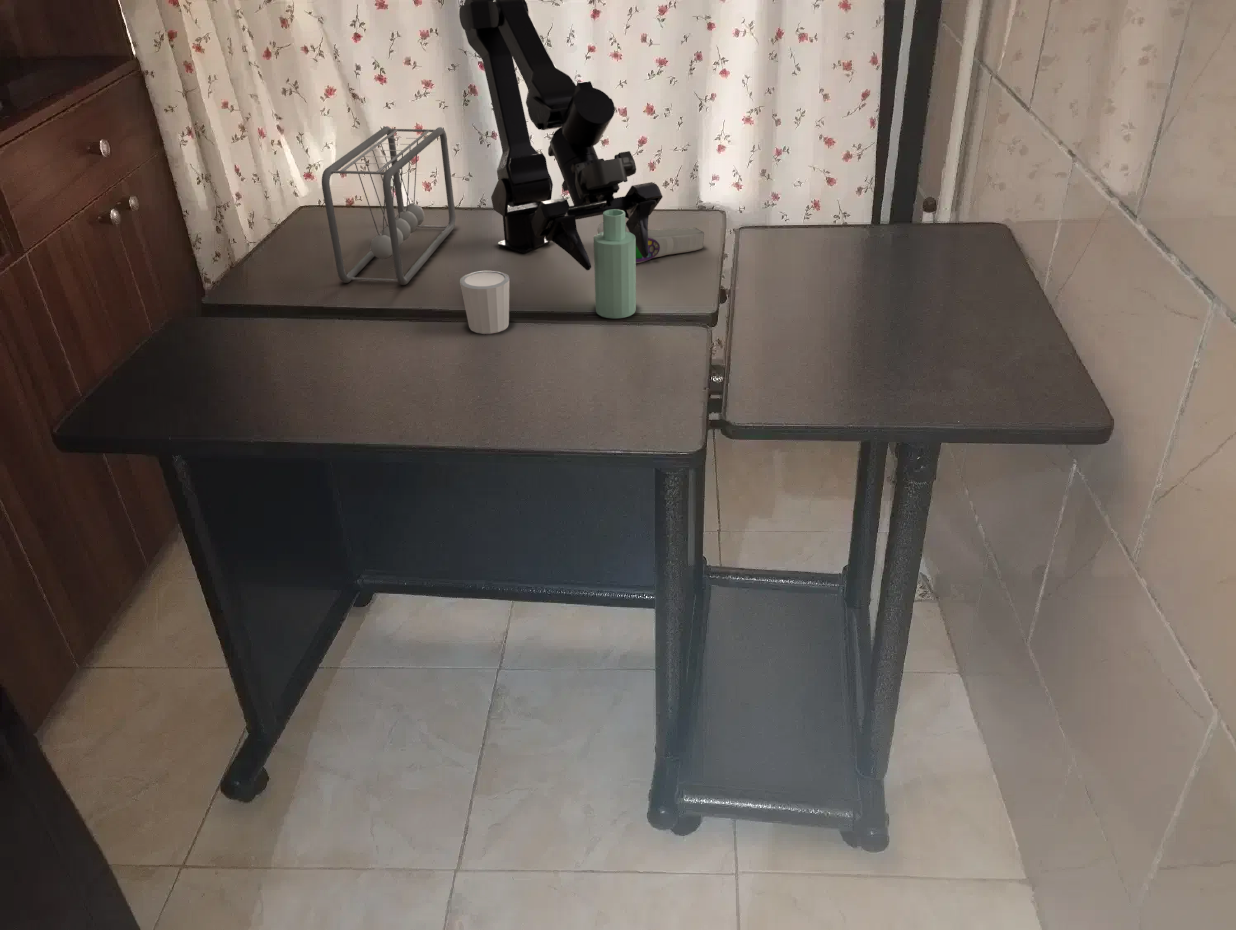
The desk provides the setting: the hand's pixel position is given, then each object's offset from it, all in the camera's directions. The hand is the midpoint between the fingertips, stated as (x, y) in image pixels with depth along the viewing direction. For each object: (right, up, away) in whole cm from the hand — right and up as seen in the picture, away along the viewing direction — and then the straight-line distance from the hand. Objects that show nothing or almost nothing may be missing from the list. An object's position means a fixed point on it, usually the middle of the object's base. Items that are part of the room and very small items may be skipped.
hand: (618, 262), depth 135 cm
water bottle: (0, -6, +5) cm, 8 cm away
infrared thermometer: (+5, +8, +27) cm, 29 cm away
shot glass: (-18, -9, +1) cm, 20 cm away
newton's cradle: (-36, +7, +26) cm, 45 cm away
